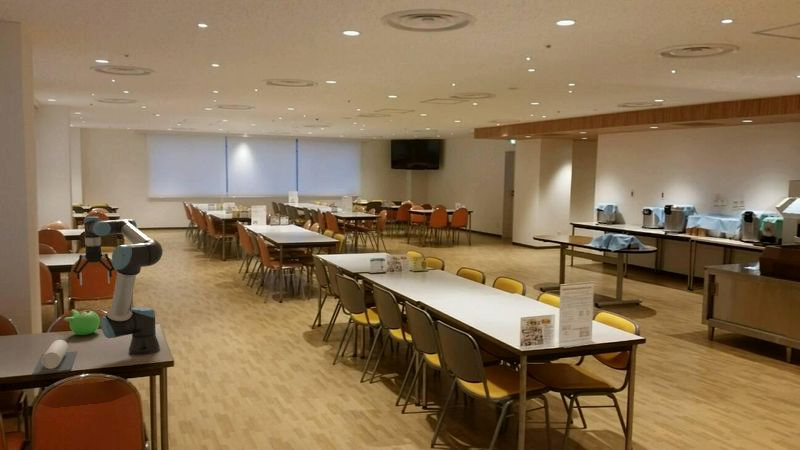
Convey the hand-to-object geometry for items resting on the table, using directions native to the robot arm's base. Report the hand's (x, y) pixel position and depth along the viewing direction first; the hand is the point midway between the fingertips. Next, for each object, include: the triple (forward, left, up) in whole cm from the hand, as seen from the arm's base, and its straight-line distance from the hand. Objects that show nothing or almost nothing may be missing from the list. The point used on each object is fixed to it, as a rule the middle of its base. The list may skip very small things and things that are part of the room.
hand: (95, 284), depth 335 cm
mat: (-8, +30, -34) cm, 46 cm away
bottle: (-17, +38, -29) cm, 51 cm away
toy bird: (+28, -12, -34) cm, 46 cm away
